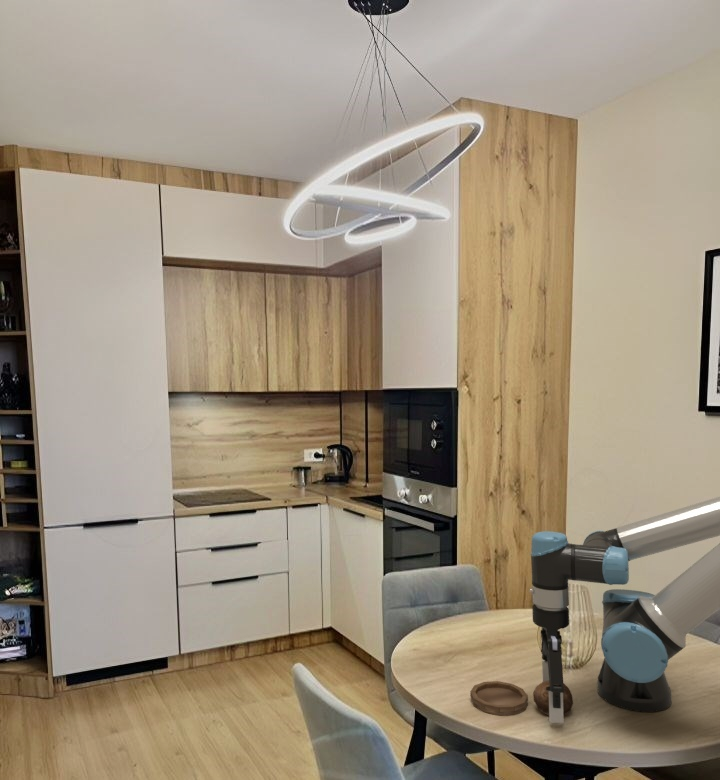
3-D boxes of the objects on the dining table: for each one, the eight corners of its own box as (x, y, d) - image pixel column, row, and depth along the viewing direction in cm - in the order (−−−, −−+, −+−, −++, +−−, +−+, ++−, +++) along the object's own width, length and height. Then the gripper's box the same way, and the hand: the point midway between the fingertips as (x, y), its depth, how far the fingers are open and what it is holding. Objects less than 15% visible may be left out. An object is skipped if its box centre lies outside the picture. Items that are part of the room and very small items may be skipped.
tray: (538, 704, 131) (538, 696, 131) (500, 721, 125) (499, 712, 125) (497, 684, 141) (497, 676, 141) (460, 698, 135) (460, 690, 135)
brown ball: (544, 681, 135) (546, 666, 132) (577, 704, 131) (581, 689, 127) (525, 708, 131) (527, 693, 127) (559, 733, 126) (562, 718, 123)
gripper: (528, 587, 142) (530, 678, 142) (537, 624, 118) (539, 735, 117) (561, 589, 141) (563, 681, 140) (577, 627, 116) (580, 738, 116)
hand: (552, 706), depth 129 cm, fingers open, 13 cm apart
